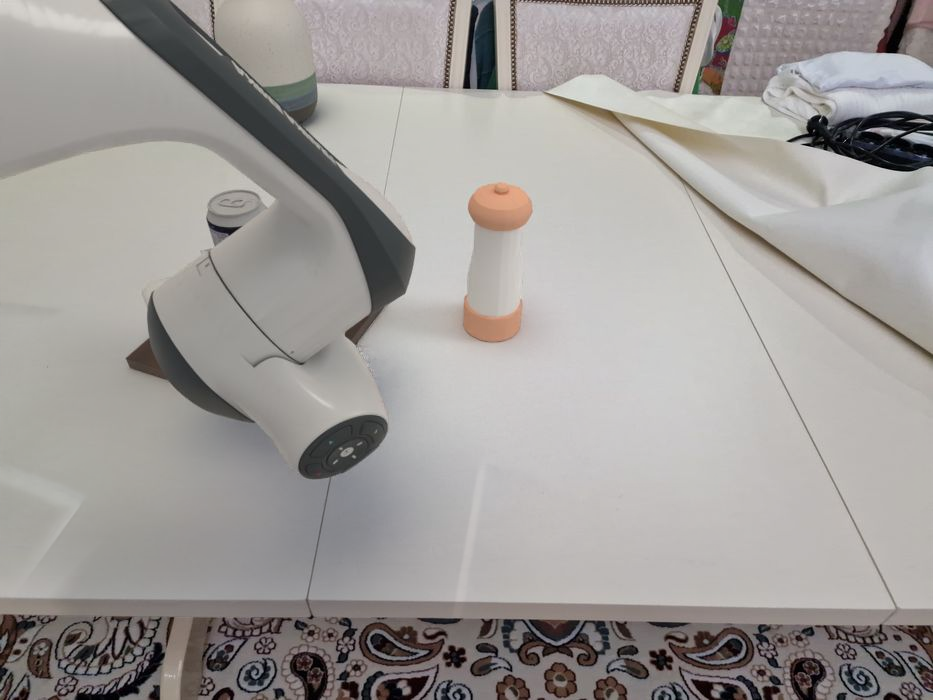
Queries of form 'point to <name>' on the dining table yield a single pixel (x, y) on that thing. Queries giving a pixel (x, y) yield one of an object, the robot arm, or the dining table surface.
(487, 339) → the pepper shaker
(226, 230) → the beverage can
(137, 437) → the dining table surface
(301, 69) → the vase
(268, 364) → the robot arm
